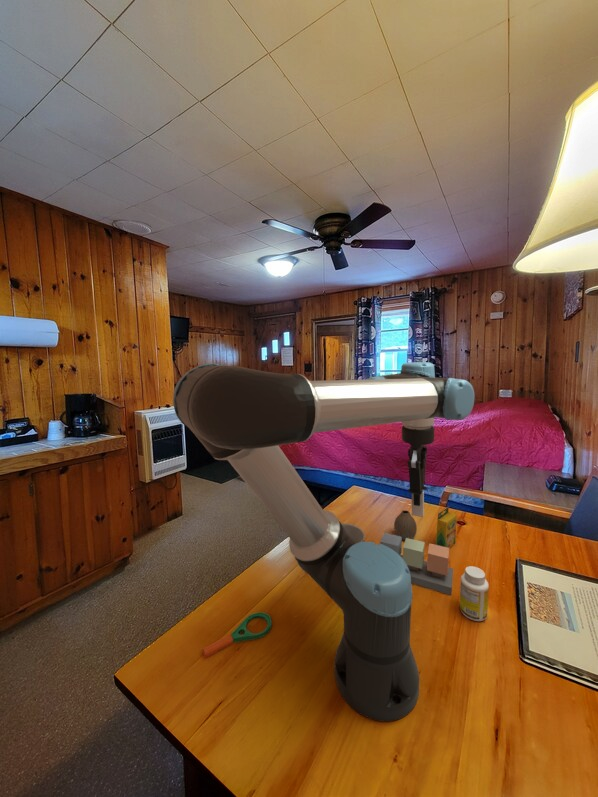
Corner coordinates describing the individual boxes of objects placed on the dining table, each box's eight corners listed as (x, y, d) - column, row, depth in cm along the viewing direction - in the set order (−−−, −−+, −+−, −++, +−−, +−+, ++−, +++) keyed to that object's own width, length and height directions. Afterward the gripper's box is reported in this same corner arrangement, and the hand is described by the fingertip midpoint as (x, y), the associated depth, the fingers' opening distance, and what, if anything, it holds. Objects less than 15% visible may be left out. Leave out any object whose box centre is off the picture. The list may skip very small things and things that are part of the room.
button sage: (421, 568, 83) (422, 552, 82) (402, 563, 85) (403, 547, 85) (424, 558, 87) (424, 542, 87) (405, 553, 89) (406, 537, 89)
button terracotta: (447, 575, 80) (448, 558, 80) (426, 570, 82) (427, 553, 82) (448, 564, 84) (449, 548, 84) (428, 559, 87) (429, 543, 86)
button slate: (398, 562, 86) (398, 546, 85) (380, 557, 88) (380, 541, 87) (401, 552, 90) (401, 536, 89) (384, 548, 92) (384, 532, 92)
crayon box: (445, 554, 95) (446, 517, 93) (435, 549, 97) (436, 513, 95) (455, 544, 100) (457, 508, 98) (446, 540, 102) (447, 505, 100)
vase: (398, 529, 109) (398, 504, 107) (419, 535, 105) (419, 510, 103) (390, 539, 103) (391, 513, 102) (412, 546, 99) (413, 519, 98)
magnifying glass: (263, 612, 75) (263, 606, 75) (276, 630, 70) (276, 623, 70) (199, 646, 67) (198, 639, 67) (209, 669, 62) (208, 661, 62)
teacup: (362, 547, 99) (362, 523, 98) (366, 571, 88) (366, 544, 87) (317, 546, 100) (317, 522, 99) (315, 569, 90) (315, 542, 88)
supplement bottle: (478, 603, 76) (480, 563, 75) (492, 622, 71) (495, 580, 69) (454, 603, 76) (456, 563, 75) (466, 623, 71) (469, 580, 69)
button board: (451, 595, 79) (452, 574, 78) (374, 572, 88) (374, 553, 87) (452, 575, 86) (453, 556, 85) (381, 556, 95) (381, 538, 94)
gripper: (430, 433, 71) (429, 531, 75) (437, 420, 83) (436, 506, 86) (396, 431, 75) (397, 524, 79) (407, 418, 86) (407, 501, 90)
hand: (417, 514), depth 83 cm, fingers closed
